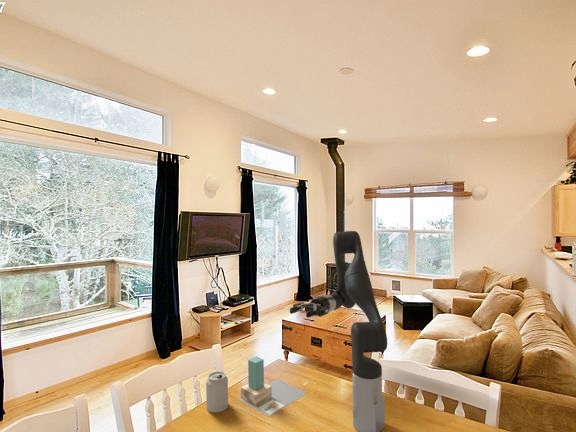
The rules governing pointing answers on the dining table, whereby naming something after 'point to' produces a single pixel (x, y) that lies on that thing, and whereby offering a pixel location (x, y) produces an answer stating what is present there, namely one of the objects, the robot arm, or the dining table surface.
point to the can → (217, 392)
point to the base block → (256, 394)
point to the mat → (278, 397)
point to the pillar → (256, 373)
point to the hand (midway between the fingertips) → (298, 312)
